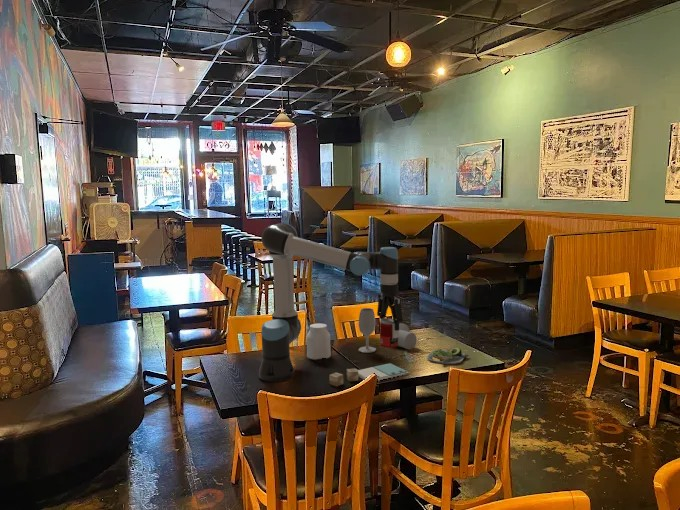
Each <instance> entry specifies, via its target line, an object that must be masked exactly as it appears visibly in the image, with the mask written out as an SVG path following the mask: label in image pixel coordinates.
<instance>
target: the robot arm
mask: <svg viewBox="0 0 680 510" xmlns="http://www.w3.org/2000/svg"><path fill="white" fill-rule="evenodd" d="M261 243H262V246H263V248H265V249H266V250H267V251H268V254H269V256H270V257H271V258H272V267H273V269H272V270H273V288H274V289H273V291H274V292H273V293H274V311H273V313H272V314H271V320H268V321H265V322H264V323H262V325H261V332H260V334H261V350H262V351H261V353H262V358H261V359H262V360H261V363H260V366H259V369H258V378H259V379H260V380H262V381H265V382H271V383H272V382H273V383H274V382H275V383H279V382H284V381H288V380H291V379H292V378H293V377H294V376H295V368H294V365H293V363H292V360H291V355H290V353H291V352H290V350H291V348H290V346H291V344H292V343H293V342H294V341H295V340H297V338H298V337H299V336H300V334H301V331H302V323H301V320H300V319H299V313H298V311H296V310H295V298H294V293H295V292H294V274H293V273H294V271H293V257H294V256H295V257H298V258H299V257H300V258H303V259H306V260H309V261H313V262H317V263H320V264H324V265H328V266H331V267H335V268H338V269H341V270H345V271H348V272H350V273H351V272H352V274H353V275H355V276H363V275H365V274H367V273H368V272H369V270H380V274H379V275H380V279H379V280H380V294H379V293H378V294H377V298H378V299H377V300H378V301H377V311H376V312H377V313H376V316H378V317H379V321H380V320H382V319H388V318H387V312H388V309H390V314H391V316H392V319H393V321H394V322H392V326H393V338H397V337H399V324H400V323H403V322H404V321H403V313H402V298H399V297H398V298H397V293H398V292H399V284H398V283H399V253H398V251H399V250H398V248H397V247H393V246H383V247H380V250H379V251H376V252H375V251H356V252H355V251H354V252H351V251H348V250H344V249H340V248H337V247H334V246H330V245H326V244H323V243H319V242H315V241H312V240H308V239H305V238H302V237H301V238H300V237H299V236H298V233H297V230H296V228H295V227H294V226H292V225H291V224H289V223H286V222H285V223H283V222H280V223H276V224H271V225H269V226H267V227H265V228H264V230H263V232H262V234H261Z"/></svg>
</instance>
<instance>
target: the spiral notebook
mask: <svg viewBox="0 0 680 510" xmlns="http://www.w3.org/2000/svg"><path fill="white" fill-rule="evenodd" d="M357 371H358V378H360V379H362V380H363V381H365V380H364V379H365V378H366V377H368V376H369V375H371V374H373V373H375V374H376V375H377V379H378V382H381V381H380V380H383V379H387V380H389V379H388V378H391V379H394V378H393V377H395V378H398V377H397V376H399V377H403V376H406V375H410V373H409V371H407V370H406V369H404V368H401V367H399V366H397V365H395V364H393V363H391V362H389V363H385V364H380V365H376V366H372V367H366V368H363V369H357ZM402 375H403V376H402ZM383 381H384V380H383Z"/></svg>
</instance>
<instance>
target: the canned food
mask: <svg viewBox="0 0 680 510" xmlns="http://www.w3.org/2000/svg"><path fill="white" fill-rule="evenodd" d="M392 322H394V321H393V318H387V319H382V320H380V319H379V344H380V347H382V348H385V349H394V348H397V347H399V346H398V337H397V338H393V326H392Z"/></svg>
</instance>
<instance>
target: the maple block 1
mask: <svg viewBox="0 0 680 510" xmlns="http://www.w3.org/2000/svg"><path fill="white" fill-rule="evenodd" d="M328 378H329V379H328V380H329V381H328V382H329V385H331V386H333V387H336V388H337V387H340V386H342V385H344V374H342V373H339V372H333V373H331V374H329V377H328Z"/></svg>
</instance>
